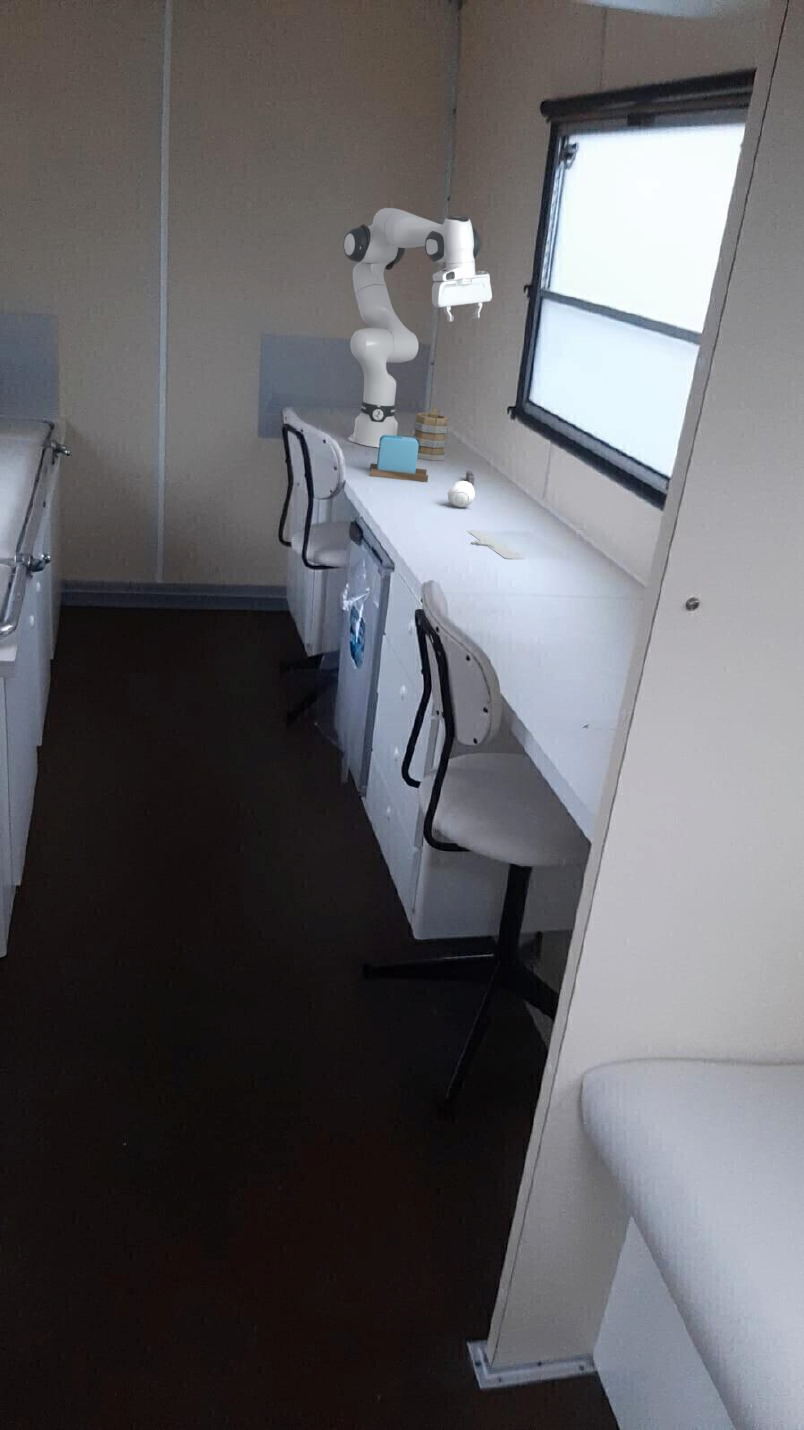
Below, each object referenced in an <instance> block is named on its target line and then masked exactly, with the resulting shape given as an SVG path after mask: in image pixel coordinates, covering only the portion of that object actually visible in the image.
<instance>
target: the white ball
mask: <svg viewBox="0 0 804 1430" xmlns="http://www.w3.org/2000/svg"><path fill="white" fill-rule="evenodd" d="M475 495H476V492H475V488H474V486H472V484H471V483H468V482H467V481H466V480H460V481H455V482H454V485H453V486H452V487H451V489H449V491H448V492H447V499H448V501H449V502H450V504H452V505H453V506H454V507H456V508H466V507H468V506H470V505H471V504H472V503H473V501H474V499H475V498H476V497H475Z"/></svg>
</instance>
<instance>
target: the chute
mask: <svg viewBox="0 0 804 1430" xmlns="http://www.w3.org/2000/svg"><path fill="white" fill-rule="evenodd" d="M369 466H370V467H369V471H370V475H369V477H377V478H386V479H395V480H403V481H411V482H421V483H428V480H429V475H428V474H427V469H425V468H417V467H416V470H415V473H406V472H397V471H388V470H379V469H377V463H371V462H370V465H369ZM475 480H476V479H475V475H474V473H473V471H472V470H466V473H465V481H467V482H468V483H471V484H472V486H473V487H474V486H475Z"/></svg>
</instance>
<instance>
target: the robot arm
mask: <svg viewBox="0 0 804 1430" xmlns="http://www.w3.org/2000/svg"><path fill="white" fill-rule="evenodd" d="M477 230H478V229H476V228H475V227H474V226H473V223H472V221H471V219H470V218H469V217H467V216H466V215H450V216H447V217H446V218H445V219H444V221H443V223H439V222H435V221H433V220H429V219H427V218H424V217H421V216H419V215H416V214H413V213H411V212H408V211H406V210H402V209H399V208H395V207H394V208H392V207H384V208H381V209H379V210H378V211H377V212H376V213H375V215H374V217H373V219H372V224H370V225H369V226H367V225H366V224H364V223H363V224H361V225H359V226H357V227H354V228H352V229H350V230H349V231H348V232H347V233H346V234H345V236H344V239H343V251H344V254H345V257H346V258H347V259H349V260H350V261H352V262H355V263H356V264H355V266H354V267H353V270H352V281H353V282H352V284H353V290H354V295H355V299H356V302H357V306H358V311H359V314H360V318H361V319H362V320H363V322H364V323H366V324H367V325H368V326H370V327H367V328H361V329H357V330H356V331H355V332H353V335H352V336H351V338H350V343H349V344H350V350H351V351H350V352H351V354H352V355H353V357H354V358H355V359H356V360H357V361H358V362H359V364H360V366H361V369H362V373H363V379H364V381H363V382H364V383H363V399H362V401H361V404H360V413H359V415H357V417H355V420H354V421H353V427H354V428H353V433H352V434H351V435H349V436H348V438H347V441H349V442H353V443H356V444H359V445H363V446H367V447H372V448H373V447H374V448H379V442H380V438H381V436H383V435H390V436H398V435H397V434H398V425H399V424H398V421H397V419H396V418H395V412H396V405H395V400H396V392H397V381H396V379H395V378H394V377H393V376H392V375H391V374H389V373H388V370H387V363H400V364H401V363H405V362H410V361H413V360H414V359H415V358H416V356H417V355H418V352H419V348H420V347H419V340H418V337H417V336H416V334H415V333H414V332H413V331H410V330H409V329H408V328H407V327H406V326H405V325H404V324H403V322H402V321H401V320H400V319H399V317H398V315H397V314H396V312H395V311H394V308H393V306H392V302H391V299H390V295H389V292H388V288H387V284H386V281H385V277H384V273H385V272H384V271H385V270H388V271H390V270H392V269H393V268H394V266H396V265H397V264H398V263H400V262H401V261H402V259H403V257H404V255H405V253H406V249H412V248H418V247H424V250H425V253H426V255H427V257H428V258H429V260H430V261H431V262H433V263H445V266H446V267H445V268H443V269H441V270H438V271H437V272H435V273H433V274H432V280H433V281H434V282H433V283H432V287H431V303H432V305H433V307H435V308H442V309H443V313H444V314H445V316H446V320H447V322H448V323H451V322H454V321H455V315H452V313H451V309H452V308H451V307H454V306H462V305H463V306H464V305H469V304H470V305H471V304H474V306H475V307H476V308H475V310H474V312H472V319H476V320H477V319H480V317H481V315H480V312H481V310H482V308H483V303H485V302H486V303H487V302H491V301H492V299H493V293H492V292H493V291H492V285H491V279H490V277H491V276H490V273H489V272H488V271H486V270H484V269H483V270H476V261H475V259H476V258H477V256H478V255H479V253H480V251H481V248H482V243H483V242H482V238H481V235H480V233H479V232H478V231H477Z"/></svg>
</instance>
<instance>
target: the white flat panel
mask: <svg viewBox="0 0 804 1430" xmlns="http://www.w3.org/2000/svg"><path fill="white" fill-rule="evenodd" d="M466 531H467V532H468V533H469V534H470V535H472V536H473V537H475V539H478V540H475V541H471V543H470V545H475V546H483V547H488V548H490V549H491V550H492V551H494V552H495V553H497V554H499V556H501V557H502V558H503V559H506V560H526V557H523V556H522V555H520V554H518V553H517V552H516V551H514V550H513V549H511V548H509V547H508V546H506V545H505V544H503V543H502V542H500V541H499V540H497V539H496V538H494V537H492V536H491V535H489V534H488V533H486V532H484V531H483V530H473V529H472V530H470V529H468V530H467V529H466Z"/></svg>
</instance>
